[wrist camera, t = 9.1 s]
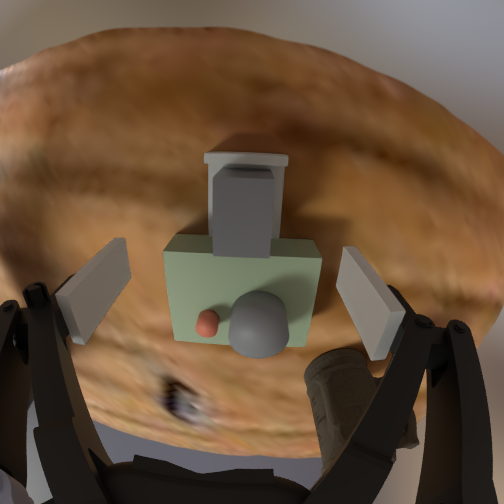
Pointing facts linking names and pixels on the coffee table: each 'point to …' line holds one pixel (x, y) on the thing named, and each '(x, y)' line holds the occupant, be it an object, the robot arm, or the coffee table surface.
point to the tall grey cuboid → (242, 212)
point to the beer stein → (344, 400)
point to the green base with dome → (243, 279)
